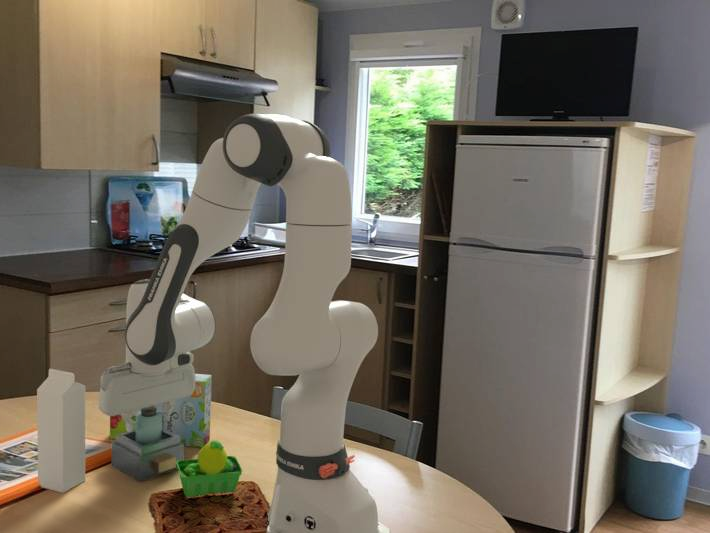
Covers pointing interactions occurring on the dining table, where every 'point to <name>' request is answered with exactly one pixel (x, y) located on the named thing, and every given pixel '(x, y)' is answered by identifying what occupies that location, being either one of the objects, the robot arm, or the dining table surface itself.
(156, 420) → the capped canister
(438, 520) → the dining table surface
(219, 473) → the fruit basket
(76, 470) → the milk
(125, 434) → the gray drawer
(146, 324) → the robot arm
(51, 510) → the dining table surface
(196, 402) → the snack box
